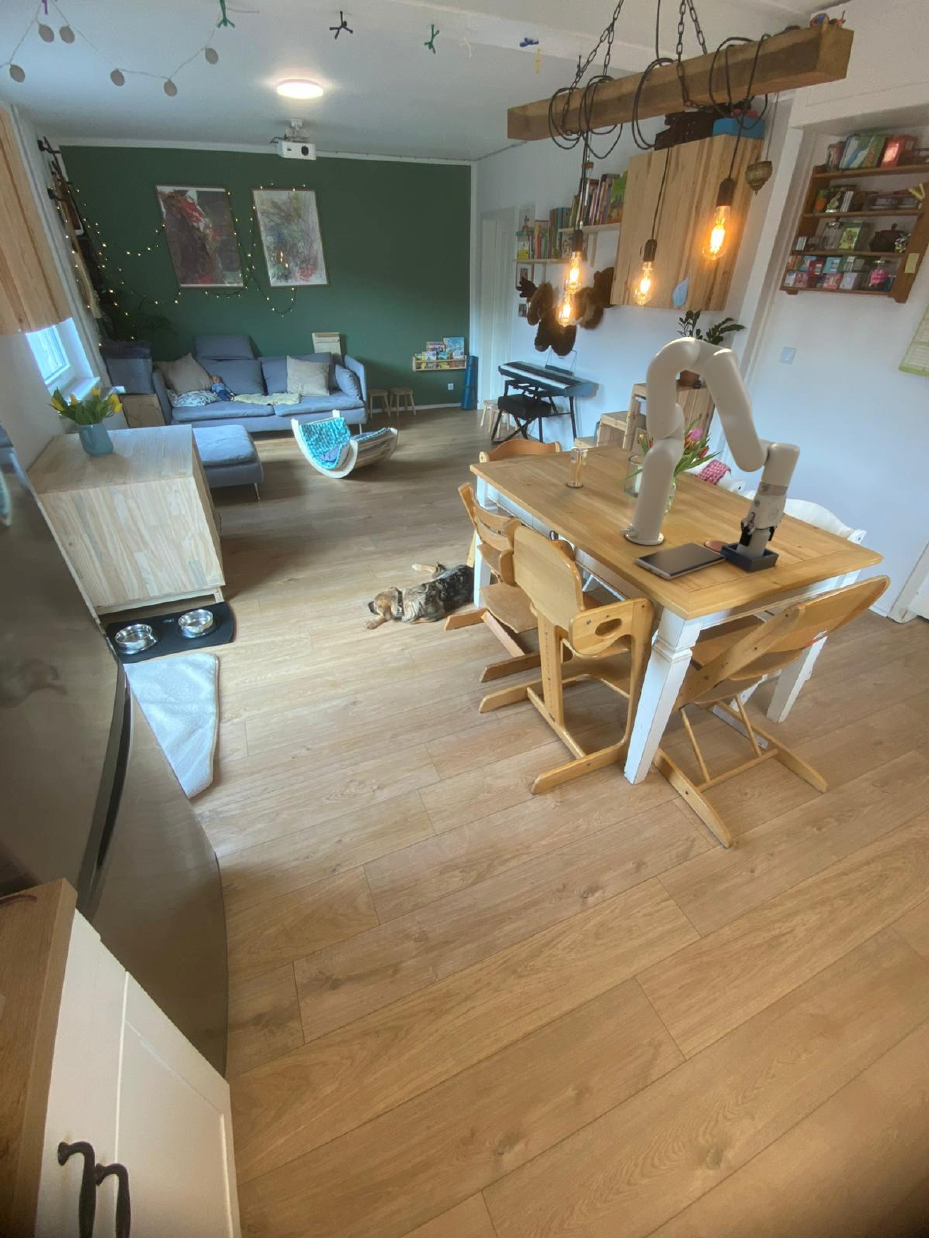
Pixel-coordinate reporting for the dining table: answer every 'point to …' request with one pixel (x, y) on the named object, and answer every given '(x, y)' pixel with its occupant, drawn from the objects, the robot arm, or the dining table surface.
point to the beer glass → (577, 466)
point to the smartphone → (679, 560)
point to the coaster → (715, 545)
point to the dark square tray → (745, 562)
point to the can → (755, 543)
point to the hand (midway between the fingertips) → (754, 542)
